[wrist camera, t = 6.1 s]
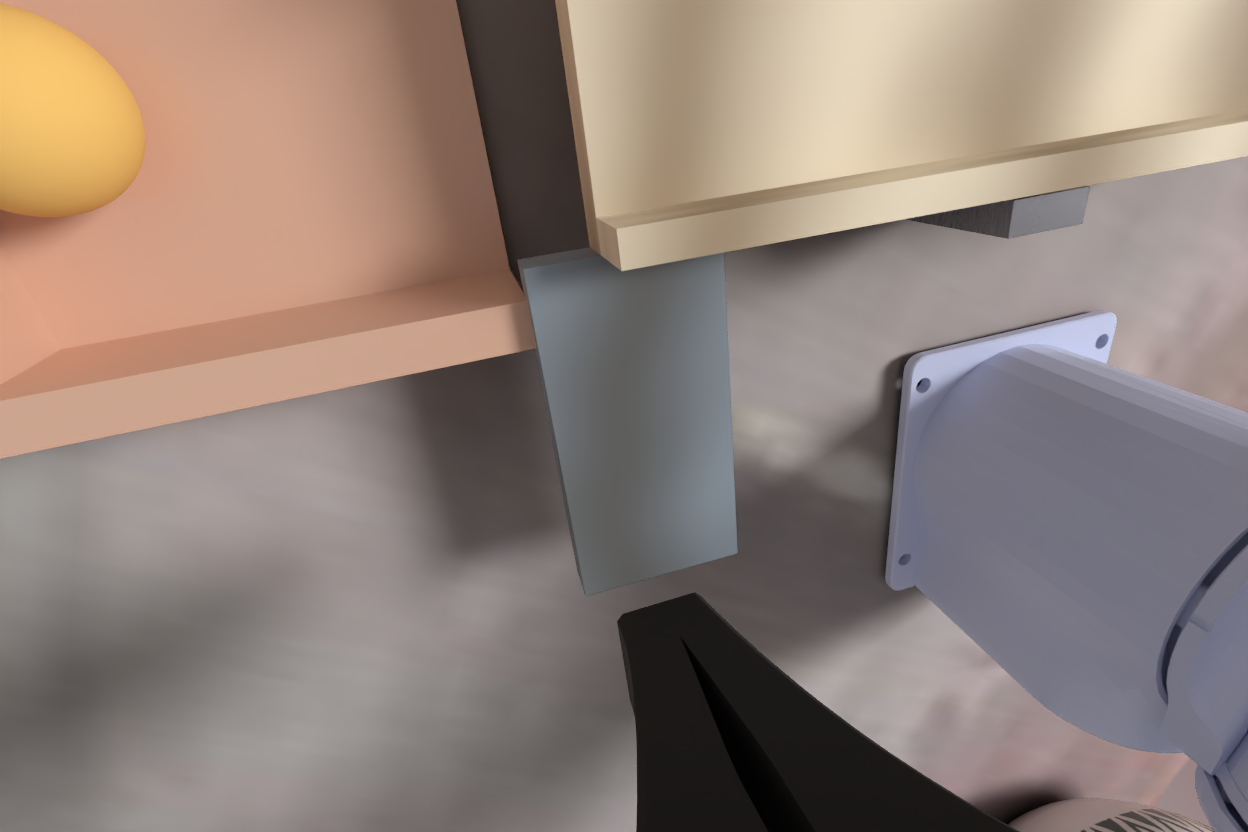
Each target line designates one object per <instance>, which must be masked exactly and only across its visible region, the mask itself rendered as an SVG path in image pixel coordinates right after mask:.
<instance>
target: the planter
mask: <svg viewBox="0 0 1248 832" xmlns="http://www.w3.org/2000/svg"><path fill="white" fill-rule="evenodd" d="M1007 825H1009V826H1011V827H1012V828H1014V829H1016V830H1018V831H1020V832H1215V831H1214V830H1213V829H1212V828H1210V827H1208V826H1206V825H1204V824H1202V823H1200V822H1197V821H1195V820H1192V819H1190V818H1187V817H1185V816H1182V815H1179V814H1176V813H1173V812H1169V811H1166V810H1163V809H1160V808H1156V807H1152V806H1147V805H1143V804H1138V803H1133V802H1127V801H1120V800H1113V799H1101V798H1076V799H1068V800H1062V801H1057V802H1053V803H1050V804H1047V805H1044V806H1041V807H1038V808H1035V809H1033V810H1031V811H1029V812H1027V813H1025V814H1023V815H1021V816H1019V817H1018V818H1016V819H1014V820H1013V821H1011V822H1010V823H1009V824H1007Z"/></svg>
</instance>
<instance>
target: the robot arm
mask: <svg viewBox="0 0 1248 832" xmlns="http://www.w3.org/2000/svg"><path fill="white" fill-rule="evenodd" d="M1116 321H1117V319H1116V316H1115V315H1114V314H1113V313H1111V312H1107V311H1104V310H1098V311H1094V312H1090V313H1086V314H1081V315H1077V316H1073V317H1069V318H1064V319H1060V320H1056V321H1052V322H1047V323H1043V324H1039V325H1035V326H1030V327H1026V328H1022V329H1018V330H1013V331H1009V332H1005V333H1001V334H996V335H992V336H988V337H984V338H979V339H975V340H971V341H967V342H962V343H958V344H954V345H950V346H945V347H941V348H937V349H933V350H929V351H924V352H920V353H917V354H915V355H913V356H912V357H911V358H910V359H909V360H908V361H907V363H906V364H905V368H904V373H903V384H902V395H901V406H900V418H899V429H898V440H897V451H896V462H895V473H894V485H893V496H892V507H891V518H890V529H889V540H888V552H887V563H886V574H885V581H886V583H887V584H888V585H889V586H890V587H891V588H892V589H893V590H896V591H898V590H903V589H906V588H909V587H912V586H916V587H917V588H918V589H919V590H920V591H921V592H922V593H923V594H924V595H925V596H927V597H928V598H929V599H930V600H931V601H932V602H933V603H934V604H935V605H936V606H937V607H938V608H939V609H940V610H941V611H942V612H944V613H945V614H946V615H947V616H948V617H949V618H950V619H951V620H952V621H953V622H954V623H955V624H956V625H957V626H958V627H959V628H961V629H962V630H963V631H964V632H965V633H966V634H967V635H968V636H969V637H970V638H971V639H972V640H973V641H974V642H975V643H976V644H978V645H979V646H980V647H981V648H982V649H983V650H984V651H985V652H986V653H987V654H988V655H989V656H990V657H991V658H992V659H993V660H995V661H996V662H997V663H998V664H999V665H1000V666H1001V667H1002V668H1003V669H1004V670H1005V671H1006V672H1007V673H1008V674H1009V675H1010V676H1012V677H1013V678H1014V679H1015V680H1016V681H1017V682H1018V683H1019V684H1020V685H1021V686H1022V687H1023V688H1024V689H1025V690H1026V691H1027V692H1029V693H1030V694H1031V695H1032V696H1033V697H1034V698H1035V699H1036V700H1038V701H1039V702H1040V703H1041V704H1042V705H1044V706H1045V707H1046V708H1047V709H1049V710H1050V711H1052V712H1053V713H1055V714H1056V715H1058V716H1059V717H1061V718H1062V719H1064V720H1065V721H1067V722H1069V723H1071V724H1073V725H1074V726H1076V727H1078V728H1080V729H1082V730H1084V731H1086V732H1088V733H1090V734H1092V735H1095V736H1097V737H1099V738H1102V739H1104V740H1106V741H1109V742H1112V743H1114V744H1117V745H1120V746H1124V747H1127V748H1131V749H1136V750H1141V751H1147V752H1157V753H1185V754H1186V755H1187V756H1188V757H1189V758H1191V759H1192V760H1193V761H1194V762H1196V763H1197V764H1198V766H1197V768H1196V771H1195V789H1196V792H1197V796H1198V799H1199V802H1200V805H1201V807H1202V809H1203V811H1204V813H1205V815H1206V817H1207V819H1208V821H1209V823H1210V825H1211V827H1212V828H1213V830H1214V831H1215V832H1248V413H1247V412H1245V411H1242V410H1239V409H1236V408H1233V407H1230V406H1227V405H1224V404H1221V403H1218V402H1216V401H1213V400H1210V399H1207V398H1204V397H1201V396H1198V395H1195V394H1192V393H1189V392H1187V391H1184V390H1181V389H1178V388H1175V387H1172V386H1169V385H1166V384H1163V383H1161V382H1158V381H1155V380H1152V379H1149V378H1146V377H1143V376H1140V375H1137V374H1134V373H1132V372H1129V371H1126V370H1123V369H1120V368H1117V367H1114V366H1111V365H1108V364H1107V360H1108V356H1109V352H1110V348H1111V344H1112V340H1113V336H1114V332H1115V328H1116ZM921 379H922V381H921V384H920V385H919V386H918V387H917V388H916V386H917V383H918V382H919V381H920V380H921ZM617 623H618V629H619V635H620V641H621V647H622V653H623V659H624V665H625V671H626V677H627V683H628V689H629V695H630V701H631V704H632V707H633V711H634V715H635V720H636V735H637V831H636V832H1020V831H1018V830H1016V829H1014V828H1012V827H1011V826H1009V825H1007V824H1005V823H1003V822H1002V821H1000V820H998V819H996V818H994V817H993V816H991V815H989V814H987V813H985V812H984V811H982V810H980V809H978V808H976V807H975V806H973V805H971V804H970V803H968V802H966V801H965V800H963V799H961V798H960V797H958V796H957V795H955V794H953V793H952V792H950V791H949V790H947V789H945V788H944V787H942V786H940V785H939V784H937V783H936V782H934V781H932V780H931V779H929V778H927V777H926V776H924V775H923V774H921V773H920V772H918V771H917V770H915V769H914V768H912V767H911V766H909V765H908V764H906V763H905V762H903V761H902V760H900V759H898V758H897V757H895V756H894V755H892V754H891V753H889V752H888V751H887V750H885V749H884V748H882V747H881V746H879V745H878V744H876V743H875V742H874V741H872V740H871V739H869V738H868V737H867V736H865V735H864V734H862V733H861V732H860V731H858V730H857V729H855V728H854V727H853V726H851V725H850V724H849V723H847V722H846V721H845V720H843V719H842V718H841V717H839V716H838V715H837V714H835V713H834V712H833V711H831V710H830V709H829V708H827V707H826V706H825V705H823V704H822V703H821V702H820V701H818V700H817V699H816V698H815V697H813V696H812V695H811V694H809V693H808V692H807V691H806V690H804V689H803V688H802V687H801V686H800V685H798V684H797V683H796V682H795V681H794V680H792V679H791V678H790V677H789V676H788V675H786V674H785V673H784V672H783V671H782V670H780V669H779V668H778V667H777V666H776V665H774V664H773V663H772V662H771V661H770V660H768V659H767V658H766V657H765V656H764V655H763V654H762V653H760V652H759V651H758V650H757V649H756V648H755V647H754V646H753V645H751V644H750V643H749V642H748V641H747V640H746V639H745V638H744V637H743V636H742V635H740V634H739V633H738V632H737V631H736V630H735V629H734V628H733V627H732V626H731V625H730V624H729V623H728V622H727V621H726V620H724V619H723V618H722V617H721V616H720V615H719V614H718V613H717V612H716V611H715V610H714V609H713V608H712V607H711V606H710V605H709V604H708V603H707V602H706V601H705V600H704V599H703V598H702V597H701V596H700V595H698V594H696V593H691V594H688V595H685V596H681V597H678V598H675V599H671V600H668V601H665V602H661V603H658V604H654V605H651V606H648V607H644V608H641V609H638V610H634V611H631V612H628V613H624V614H623V615H622V616H621V617H620V618H619V620H618V621H617Z"/></svg>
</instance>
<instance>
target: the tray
mask: <svg viewBox="0 0 1248 832" xmlns="http://www.w3.org/2000/svg"><path fill="white" fill-rule="evenodd" d="M0 4H5V5H9V6H13V7H16V8H20V9H23V10H26V11H29V12H31V13H34V14H37V15H39V16H42V17H44V18H46V19H48V20H50V21H52V22H54V23H57V24H59V25H60V26H62V27H64V28H65V29H67V30H69V31H70V32H72V33H74V34H75V35H77V36H78V37H80V38H81V39H82V40H84V41H85V42H86V43H88V44H89V45H90V46H92V47H93V48H94V49H95V50H96V51H97V52H98V53H99V54H101V55H102V56H103V57H104V58H105V59H106V60H107V61H108V62H109V63H110V65H111V66H112V67H113V68H114V69H115V70H116V71H117V73H118V74H119V75H120V77H121V78H122V79H123V80H124V82H125V83H126V85H127V86H128V88H129V90H130V91H131V93H132V95H133V97H134V99H135V101H136V103H137V105H138V107H139V110H140V113H141V116H142V120H143V124H144V129H145V141H146V144H145V154H144V159H143V162H142V166H141V168H140V171H139V173H138V175H137V177H136V178H135V180H134V181H133V183H132V184H131V185H130V187H129V188H128V189H127V190H126V191H125V192H124V193H123V194H122V195H120V196H119V197H118V198H116V199H115V200H113V201H112V202H110V203H108V204H107V205H105V206H103V207H101V208H98V209H96V210H93V211H90V212H87V213H83V214H78V215H73V216H64V217H37V216H28V215H22V214H17V213H12V212H7V211H4V210H0V459H1V458H6V457H11V456H16V455H20V454H25V453H30V452H35V451H40V450H45V449H50V448H54V447H59V446H64V445H69V444H74V443H79V442H84V441H88V440H93V439H98V438H103V437H108V436H113V435H118V434H123V433H127V432H132V431H137V430H142V429H147V428H152V427H157V426H161V425H166V424H171V423H176V422H181V421H186V420H191V419H195V418H200V417H205V416H210V415H215V414H220V413H225V412H230V411H234V410H239V409H244V408H249V407H254V406H259V405H264V404H268V403H273V402H278V401H283V400H288V399H293V398H298V397H303V396H307V395H312V394H317V393H322V392H327V391H332V390H337V389H341V388H346V387H351V386H356V385H361V384H366V383H371V382H375V381H380V380H385V379H390V378H395V377H400V376H405V375H410V374H414V373H419V372H424V371H429V370H434V369H439V368H444V367H448V366H453V365H458V364H463V363H468V362H473V361H478V360H482V359H487V358H492V357H497V356H502V355H507V354H512V353H517V352H521V351H526V350H531V349H536V342H535V337H534V332H533V327H532V322H531V316H530V311H529V306H528V301H527V299H526V297H525V295H524V293H523V291H522V290H521V288H520V286H519V284H518V283H517V281H516V279H515V277H514V275H513V274H512V272H511V270H510V267H509V262H508V257H507V252H506V247H505V242H504V237H503V232H502V227H501V222H500V217H499V212H498V207H497V202H496V197H495V193H494V188H493V183H492V178H491V173H490V168H489V163H488V158H487V153H486V148H485V143H484V138H483V133H482V128H481V123H480V118H479V113H478V108H477V103H476V98H475V93H474V88H473V83H472V78H471V73H470V68H469V63H468V58H467V53H466V48H465V43H464V38H463V33H462V28H461V23H460V18H459V13H458V8H457V3H456V0H0Z"/></svg>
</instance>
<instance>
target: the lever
mask: <svg viewBox="0 0 1248 832" xmlns="http://www.w3.org/2000/svg"><path fill="white" fill-rule="evenodd" d="M555 3H556V10H557V17H558V24H559V31H560V38H561V46H562V53H563V60H564V67H565V74H566V81H567V88H568V95H569V102H570V109H571V117H572V124H573V131H574V138H575V145H576V152H577V159H578V166H579V173H580V181H581V188H582V195H583V202H584V209H585V216H586V223H587V230H588V237H589V244H590V247H586V248H581V249H575V250H569V251H564V252H558V253H552V254H546V255H541V256H535V257H529V258H524V259H518V260H517V261H518V266H519V271H520V277H521V282H522V287H523V292H524V295H525V297H526V299H527V301H528V306H529V311H530V316H531V322H532V327H533V332H534V337H535V342H536V349H535V354H536V359H537V364H538V369H539V375H540V380H541V385H542V390H543V395H544V400H545V405H546V411H547V416H548V421H549V426H550V431H551V436H552V442H553V447H554V452H555V457H556V462H557V467H558V473H559V478H560V483H561V488H562V493H563V498H564V503H565V509H566V514H567V519H568V524H569V529H570V534H571V540H572V545H573V550H574V555H575V560H576V565H577V570H578V574H579V577H580V580H581V583H582V586H583V589H584V593H585V596H589V595H592V594H596V593H599V592H603V591H607V590H610V589H614V588H617V587H621V586H624V585H628V584H631V583H635V582H638V581H642V580H645V579H649V578H653V577H656V576H660V575H663V574H667V573H670V572H674V571H677V570H681V569H684V568H688V567H691V566H695V565H698V564H702V563H706V562H709V561H713V560H716V559H720V558H723V557H727V556H730V555H734V554H737V553H738V549H737V527H736V505H735V483H734V462H733V440H732V418H731V396H730V374H729V353H728V331H727V309H726V287H725V265H724V252H729V251H734V250H740V249H745V248H751V247H756V246H762V245H767V244H772V243H778V242H783V241H789V240H794V239H800V238H805V237H810V236H816V235H821V234H827V233H832V232H838V231H843V230H848V229H854V228H859V227H865V226H870V225H876V224H881V223H886V222H892V221H897V220H903V219H908V218H914V217H919V216H924V215H930V214H935V213H941V212H946V211H952V210H957V209H962V208H968V207H973V206H979V205H984V204H990V203H995V202H1000V201H1006V200H1011V199H1017V198H1022V197H1028V196H1033V195H1038V194H1044V193H1049V192H1055V191H1060V190H1066V189H1071V188H1076V187H1082V186H1087V185H1093V184H1098V183H1104V182H1109V181H1115V180H1120V179H1125V178H1131V177H1136V176H1142V175H1147V174H1153V173H1158V172H1163V171H1169V170H1174V169H1180V168H1185V167H1191V166H1196V165H1201V164H1207V163H1212V162H1218V161H1223V160H1229V159H1234V158H1239V157H1245V156H1248V0H555Z"/></svg>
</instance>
